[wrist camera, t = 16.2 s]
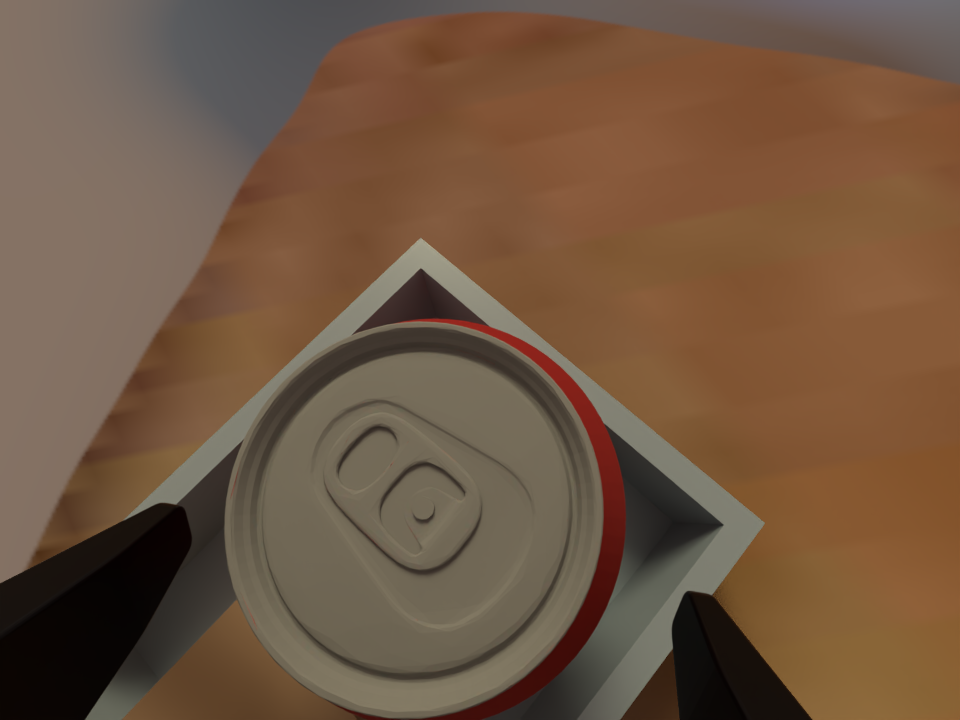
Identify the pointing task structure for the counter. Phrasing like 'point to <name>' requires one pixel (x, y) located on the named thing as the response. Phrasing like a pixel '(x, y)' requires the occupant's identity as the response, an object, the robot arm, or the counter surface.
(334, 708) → the walnut cube
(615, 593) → the tote
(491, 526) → the beverage can
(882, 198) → the counter surface
